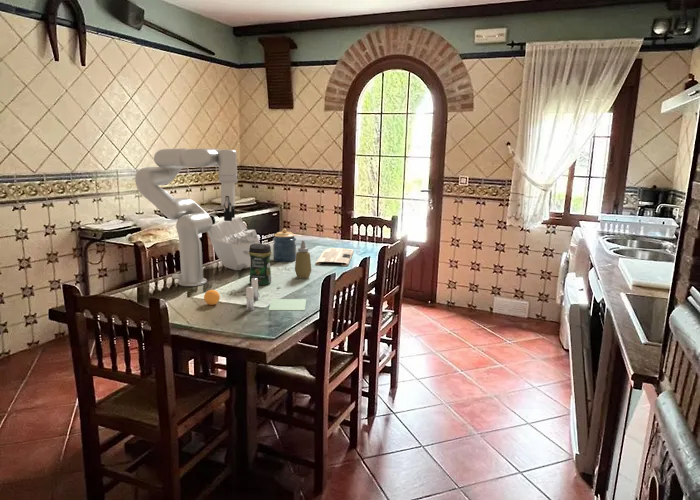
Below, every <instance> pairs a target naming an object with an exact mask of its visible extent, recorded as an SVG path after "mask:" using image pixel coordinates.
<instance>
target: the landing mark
mask: <svg viewBox="0 0 700 500" xmlns="http://www.w3.org/2000/svg"><path fill="white" fill-rule="evenodd" d="M306 303H307V299H306V298H280V299H279V298H272V299H271V301H270V304H269V307H268V311H306V306H307V305H306Z"/></svg>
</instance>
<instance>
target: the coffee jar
mask: <svg viewBox="0 0 700 500" xmlns="http://www.w3.org/2000/svg"><path fill="white" fill-rule="evenodd" d="M271 249H272V248H271V245H270V244H267V243H266V244H264V243H260V244H252V245H250V249H249V255H250V258H251V266H250V268H249V269H250V271H249V283H250V284H251V279H252V278H258V286H266V285H270V284H271V283H272V274H271V273H272V271H271V256H272V250H271Z"/></svg>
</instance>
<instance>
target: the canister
mask: <svg viewBox="0 0 700 500" xmlns="http://www.w3.org/2000/svg"><path fill="white" fill-rule="evenodd" d="M273 235H274V237H273V238H272V241H273V244H272V246H273V247H272V248H273V251H272V254H273V255H272V258H273V261H275V262H279V263H288V262H294V261H295V262H296V253H297V243H296V240H297V238H296V237H295V236H296V234H295V233H293V232H292V231H288V230H287V229H286V228H283V229H282V230H281V231H278V232H276V233H275V234H273Z"/></svg>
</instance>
